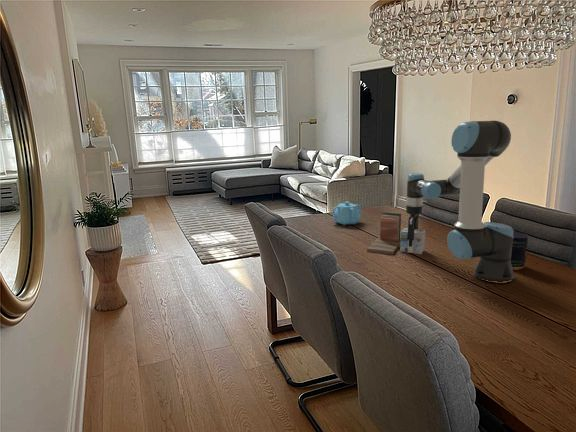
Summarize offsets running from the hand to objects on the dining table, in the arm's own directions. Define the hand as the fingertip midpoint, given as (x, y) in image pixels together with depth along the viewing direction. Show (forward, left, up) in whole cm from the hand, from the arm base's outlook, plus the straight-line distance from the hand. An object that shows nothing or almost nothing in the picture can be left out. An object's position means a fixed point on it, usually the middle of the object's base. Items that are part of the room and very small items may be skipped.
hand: (412, 250), depth 222 cm
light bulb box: (0, 0, -1) cm, 1 cm away
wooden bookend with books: (+2, +14, -1) cm, 14 cm away
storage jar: (-4, -45, -1) cm, 45 cm away
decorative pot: (+39, +48, -1) cm, 62 cm away
